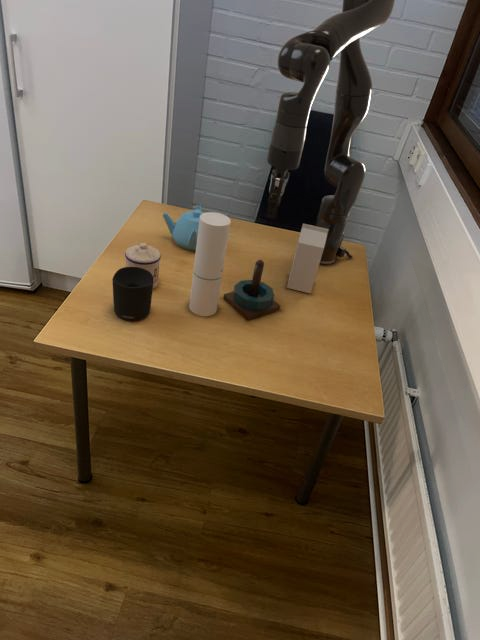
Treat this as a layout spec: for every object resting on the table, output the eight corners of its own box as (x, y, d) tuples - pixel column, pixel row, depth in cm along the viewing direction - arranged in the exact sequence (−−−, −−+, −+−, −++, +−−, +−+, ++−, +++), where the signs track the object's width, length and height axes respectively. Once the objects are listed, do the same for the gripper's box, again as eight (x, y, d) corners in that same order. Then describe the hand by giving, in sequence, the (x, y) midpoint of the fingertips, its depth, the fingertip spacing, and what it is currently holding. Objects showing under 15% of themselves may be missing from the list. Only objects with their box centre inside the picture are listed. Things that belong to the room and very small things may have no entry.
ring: (255, 284, 132) (257, 276, 130) (280, 305, 125) (282, 296, 123) (225, 292, 126) (226, 284, 124) (249, 314, 119) (251, 305, 118)
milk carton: (310, 294, 135) (327, 234, 124) (286, 288, 136) (301, 228, 124) (312, 282, 141) (329, 224, 130) (289, 276, 141) (304, 218, 130)
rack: (254, 289, 132) (263, 246, 124) (279, 310, 126) (290, 266, 118) (223, 298, 126) (230, 253, 118) (247, 320, 119) (257, 275, 112)
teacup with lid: (157, 293, 123) (160, 254, 116) (122, 290, 122) (122, 250, 115) (161, 270, 132) (163, 233, 126) (128, 266, 131) (129, 229, 124)
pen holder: (104, 309, 114) (104, 274, 108) (135, 296, 120) (136, 262, 114) (128, 328, 110) (129, 292, 104) (159, 313, 116) (161, 279, 110)
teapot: (189, 258, 140) (193, 226, 134) (159, 237, 148) (161, 205, 142) (226, 247, 150) (231, 216, 144) (196, 228, 158) (199, 198, 151)
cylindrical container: (220, 305, 123) (235, 217, 109) (210, 319, 117) (224, 228, 103) (195, 297, 124) (206, 209, 110) (184, 310, 119) (194, 220, 104)
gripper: (274, 133, 111) (262, 197, 121) (266, 149, 100) (253, 219, 109) (305, 139, 111) (290, 204, 120) (300, 156, 99) (284, 226, 109)
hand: (272, 211), depth 115 cm, fingers open, 8 cm apart
